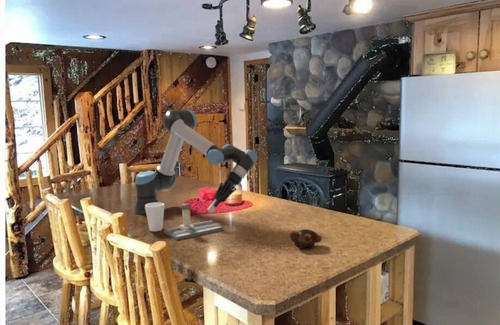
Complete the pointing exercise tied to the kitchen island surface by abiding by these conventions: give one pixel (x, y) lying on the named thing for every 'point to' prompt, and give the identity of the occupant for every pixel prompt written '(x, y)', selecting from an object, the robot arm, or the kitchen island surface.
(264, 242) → the kitchen island surface
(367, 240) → the kitchen island surface
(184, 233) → the board
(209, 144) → the robot arm
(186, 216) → the tuning slider
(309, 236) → the decorative turtle
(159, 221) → the foam cup
